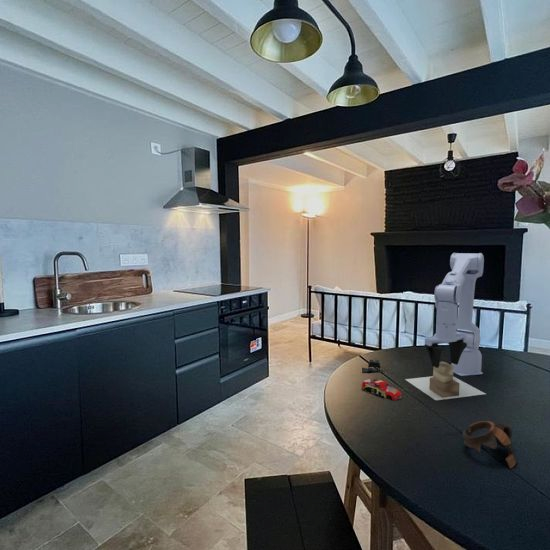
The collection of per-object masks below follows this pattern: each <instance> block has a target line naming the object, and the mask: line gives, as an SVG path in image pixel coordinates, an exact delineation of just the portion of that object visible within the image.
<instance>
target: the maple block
mask: <svg viewBox="0 0 550 550" xmlns="http://www.w3.org/2000/svg"><path fill="white" fill-rule="evenodd" d="M432 367H433V371H432V376H433V378H434V379H436V380H438V381H440V382H442V383H445V382H451V381H453V377H454V372H453V365H451V364H450V363H448V362H445V361H440V364H439V368H436V367H434V366H432Z"/></svg>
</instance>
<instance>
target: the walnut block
mask: <svg viewBox="0 0 550 550" xmlns="http://www.w3.org/2000/svg"><path fill="white" fill-rule="evenodd" d="M429 377H430V386H429V389H430V390H431V391H433V392H434V393H436V394H437V395H439V396H440V397H442V398H444V397H452V396H459V385H460V383H458V382H456V381H455V380H453V381H451V382H445V383H442V382H440V381H438V380H436V379H434V378H433V377H431V376H429Z"/></svg>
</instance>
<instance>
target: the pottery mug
mask: <svg viewBox="0 0 550 550" xmlns="http://www.w3.org/2000/svg"><path fill="white" fill-rule="evenodd" d="M468 427H469V429H468V428H465V429H464V430H463V431H462V436H463V437H464V441H463V442H464V445H465V446H466V447H468V448H470V449H475V450H476V451H478V452H479V453H481V452H482V451H481V449H482V444H483V445H484V446H486V447H488V448H490V449H491V450H492V449H493V450H494V449H498V447H497V445H498V446H499V447H502V448H503V449H506V448H507V452H508V456H507V457H506V458H505V461H506V463H507V466H508V468H509V469H512V468H514V467H515V466H516V464H517V463H518V461H517V459H518V458H517V457H516V453H515V451H514V447H513V443H512V442H511V440H512V436H513V433H512V429H511V427H510V426H509V424H507V423H506V422H497V423H496V424H495V423H494V422H492V421H489V420H481V421H477V422H474V423H472V424H469V426H468ZM488 428H489V430H487V431H486V432H484V433H482V434H478V435H472V434H473V433H475V432H477V431H478V430H483V429H488Z"/></svg>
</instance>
